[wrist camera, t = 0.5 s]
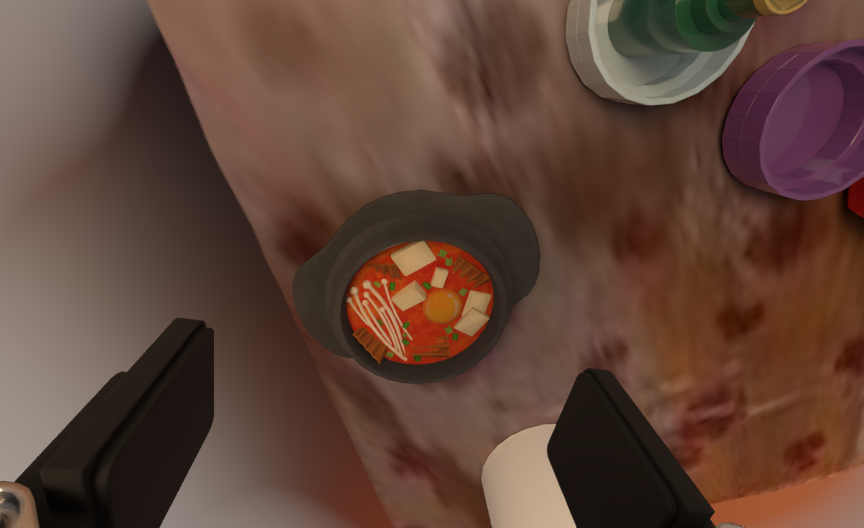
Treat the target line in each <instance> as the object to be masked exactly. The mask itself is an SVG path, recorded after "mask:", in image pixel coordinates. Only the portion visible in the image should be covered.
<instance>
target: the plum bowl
mask: <svg viewBox="0 0 864 528" xmlns="http://www.w3.org/2000/svg"><path fill="white" fill-rule="evenodd" d="M722 145H723V157H724V160H725V162H726V164H727V166H728V168H729V170H730V172H731V174H732V175H733V176H734V177H735V178H737V179H738V180H739V181H740V182H742V183H743V184H744V185H746V186H750V187H753V188H757V189H760V190H763V191H767V192H770V193H773V194H777V195H780V196H784V197H788V198H791V199H795V200H799V201H802V200H813V199H821V198H824V197H827V196H829V195H832V194H835V193H837V192H840V191H842V190H844V189H846V188H847V187H849V186H850V185H852V184H853V183H855V182H856V181H858V180H859V179H861V178H862V177H864V39H856V40H844V41H833V42H822V43H811V44H801V45H798V46H796V47H793V48H791V49H789V50H786V51H784V52H782V53H779V54H778V55H776V56H775V57H773V58H772V59H771V60H770V61H768V62H767V63H766V64H764V65H763V66H762V67H760V68H759V69H758V70H757V71H755V72H754V74H753V75H752V76H751V77H750V79H749V80H748V81H747V82H746V83H745V85H744V86H743V87H742V88H741V90H740V91H739V93H738V94H737V96H736V98H735V100H734V102H733V104H732V106H731V108H730V110H729V112H728V115H727V118H726V122H725V127H724V132H723V136H722Z"/></svg>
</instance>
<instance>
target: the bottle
mask: <svg viewBox="0 0 864 528" xmlns="http://www.w3.org/2000/svg"><path fill="white" fill-rule="evenodd" d="M806 1H807V0H614V1H613V3H612V6H611V8H610V11H609V16H608V24H607V26H608V35H609V39H610V41H611V43H612V45H613V47H614V48H615V49H616V51H617V52H619V53H620V54H621V55H623V56H625V57H628V58H633V59H638V58H649V57H660V56H671V55H682V54H693V53H704V52H714V51H719V50H722V49H724V48H727V47H728V46H730V45H732V44H734V43H735V42H736V41H738V40H739V39H740V38H741V37H743V36H744V35H745V34H746V33H747V31H748V30H749V29H750V28H751V27H752V25H753V24H754V22H755V21H756V19H757V18H758V17H761V16H779V15H784V14H789V13H791V12H793V11H795V10H797V9H798V8H800V7H801V6H802V5H804V4H805V3H806Z"/></svg>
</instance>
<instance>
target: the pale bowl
mask: <svg viewBox="0 0 864 528" xmlns="http://www.w3.org/2000/svg"><path fill="white" fill-rule="evenodd" d="M613 1H614V0H570V2H569V5H568V8H567V22H566V42H567V46H568V51H569V55H570V60H571V63H572V65H573V67H574V69H575V70H576V72H577V74H578V75H579V77H580V79H581V80H582V82H583V83H584V84H585V85H586V86H587V87H588V88H590V89H591V90H592V91H593V92H595V93H596V94H597V95H599V96H600V97H602V98H605V99H609V100H612V101H616V102H619V103H628V104H638V105H648V106H650V105H662V104H673V103H676V102H678V101H680V100H683V99H685V98H687V97H690V96H692V95H695V94H697V93H699V92H700V91H701V90H703V89H704V88H705V87H706V86H708V85H709V84H710V83H712V82H713V81H714V80H715V79H717V78H718V77H719V76H721V75H722V74H723V72H724V71H725V70H726V69H727V67H728V66H729V65H730V64H731V62H732V61H733V60H734V59H735V57H736V56H737V55H738V54H739V52H740V51H741V49H742V47H743V45H744V43H745V41H746V39H747V37H748V35H749V33H750V31H751V29H752V27H753V25H754V24H753V25H752V27H751V28H750V29H749V30H748V31H747V33H746V34H745V35H744V36H743V37H741V38H740V39H739V40H738V41H736V42H735V43H734V44H732V45H730V46H728V47H727V48H724V49H722V50H719V51H714V52H704V53H693V54H682V55H671V56H660V57H649V58H638V59H633V58H628V57H625V56H623V55H621V54H620V53H619V52H617V51H616V49H615V48H614V47H613V45H612V43H611V41H610V39H609V35H608V26H607V24H608V16H609V11H610V8H611V6H612V3H613ZM754 23H755V22H754Z"/></svg>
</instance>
